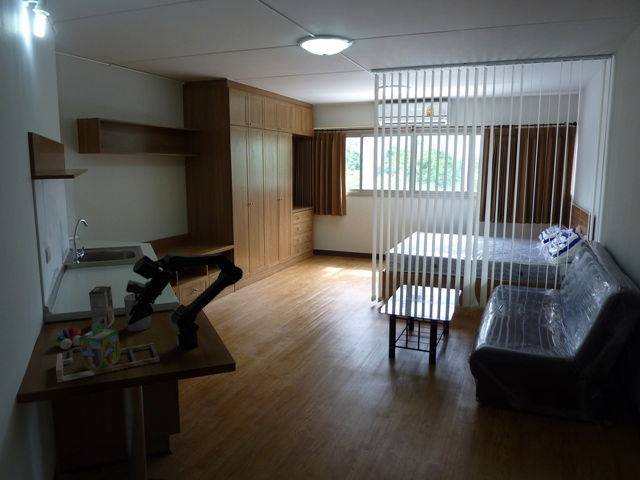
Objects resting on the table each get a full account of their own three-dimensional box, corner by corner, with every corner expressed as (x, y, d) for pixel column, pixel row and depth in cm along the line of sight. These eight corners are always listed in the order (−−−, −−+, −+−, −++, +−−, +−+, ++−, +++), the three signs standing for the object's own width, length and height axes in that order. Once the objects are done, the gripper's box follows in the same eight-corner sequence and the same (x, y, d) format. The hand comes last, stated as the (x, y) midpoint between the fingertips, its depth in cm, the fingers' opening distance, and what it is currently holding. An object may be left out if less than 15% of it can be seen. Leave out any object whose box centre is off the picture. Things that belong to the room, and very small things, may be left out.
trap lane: (149, 337, 189) (148, 327, 188) (159, 361, 167) (158, 350, 166) (59, 353, 175) (57, 343, 174) (57, 382, 152) (56, 370, 152)
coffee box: (99, 322, 207) (95, 286, 204) (115, 321, 208) (111, 285, 205) (92, 329, 198) (88, 292, 195) (108, 328, 199) (104, 291, 196)
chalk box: (105, 371, 160) (101, 329, 157) (81, 369, 161) (76, 328, 159) (122, 360, 168) (118, 320, 166) (99, 358, 170) (94, 318, 168)
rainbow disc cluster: (87, 344, 183) (85, 326, 182) (60, 352, 176) (57, 334, 175) (78, 339, 189) (76, 321, 187) (52, 346, 182) (49, 328, 180)
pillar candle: (133, 322, 205) (130, 289, 202) (155, 323, 204) (152, 289, 201) (122, 331, 196) (118, 296, 193) (145, 331, 195) (141, 296, 192)
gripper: (138, 266, 176) (111, 299, 175) (137, 279, 158) (107, 316, 157) (163, 282, 180) (137, 315, 179) (165, 297, 163) (136, 334, 162)
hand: (129, 319), depth 169 cm, fingers open, 9 cm apart
